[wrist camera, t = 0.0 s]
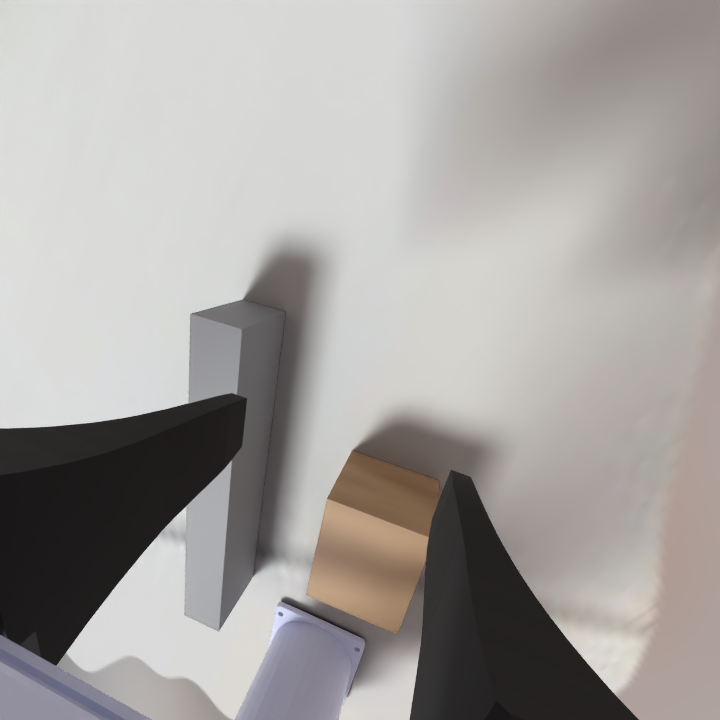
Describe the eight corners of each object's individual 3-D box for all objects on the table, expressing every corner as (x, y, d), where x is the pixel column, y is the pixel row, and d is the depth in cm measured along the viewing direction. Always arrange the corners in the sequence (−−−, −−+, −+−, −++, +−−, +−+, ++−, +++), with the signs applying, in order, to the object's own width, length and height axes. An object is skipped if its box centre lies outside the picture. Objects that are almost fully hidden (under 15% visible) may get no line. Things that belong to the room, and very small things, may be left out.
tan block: (408, 564, 26) (397, 634, 21) (332, 534, 27) (305, 594, 22) (440, 479, 23) (434, 539, 18) (352, 449, 24) (327, 498, 19)
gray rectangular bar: (254, 573, 31) (218, 631, 26) (224, 560, 32) (184, 615, 27) (287, 310, 22) (241, 329, 18) (245, 298, 23) (190, 313, 18)
